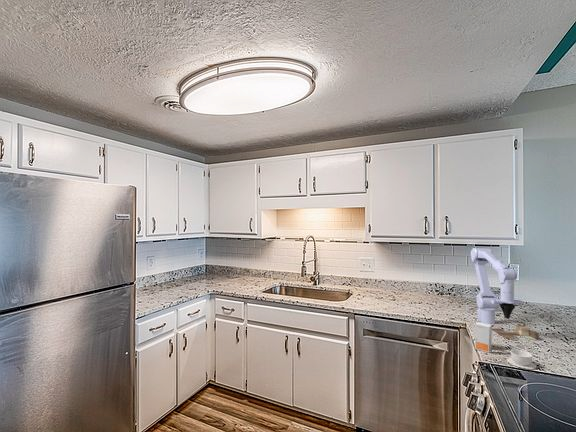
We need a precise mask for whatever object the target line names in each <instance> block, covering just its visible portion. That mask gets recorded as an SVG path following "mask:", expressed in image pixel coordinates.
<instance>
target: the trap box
mask: <svg viewBox="0 0 576 432" xmlns="http://www.w3.org/2000/svg"><path fill="white" fill-rule="evenodd" d="M517 325H521V324H520V323H517ZM510 330H511V331H512V332H511V331H506V330H504V329H502V328H492V332H494V333H496V334H497V335H499V336H501V337H503V338H504V339H506V340H519V338H517V337H522V336H521V335H519V334H517V333H516V328H513V329H512V328H511V329H510ZM523 337H524V338H526V339H527V340H531V341H538V340H539V333H537V332H536V331H534V330H531V329H530V328H529V336H523Z"/></svg>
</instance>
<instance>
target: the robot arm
mask: <svg viewBox="0 0 576 432" xmlns="http://www.w3.org/2000/svg"><path fill="white" fill-rule="evenodd" d="M470 258H471V262H472V263H473V264H474V269H475V273H476V278H477V282H478V287H479V291H480V292H478V294H476V305H477V309H476V320H475V321H476V322H479V321H480V323H486V324H490V325H495V324H496V311H497V309H499V307H500V308H501V310H502V313H503V317H504V318H505V319H508V320H509V319H510V318H511V315H512V312H513V311H514V309H515V308H516V305H520V306H523V305H524V301H523V300H521V299H520V300H519V299H515V280H517V278H518V272H517V271H516V269H515V268H511V267H509V266H507V264H505V262H503V261H504V260H503V261H502V260H500V259H499V260H498V259H497V258H496V256H495V255H494V252H493V250H492V249H491V248H490V247H487V248H485V247H484V248H482V247H472V249H471V250H470ZM488 263H490V264H491V267H492V269H493V270H494V271H495V273H497V276H498V279H499V283H500V295H499V296H500V298H498V297H497V294H495V293H494V292H492V290H491V287H490V283H489V278H488V274H487V269H486V264H488Z"/></svg>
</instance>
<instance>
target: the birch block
mask: <svg viewBox="0 0 576 432" xmlns="http://www.w3.org/2000/svg"><path fill="white" fill-rule="evenodd" d="M515 329H516V333H517V334H519V335H521V336H520V337H524V336H529V329H530V327H528V326H526V325H525V324H520V325H518V324H516V325H515Z"/></svg>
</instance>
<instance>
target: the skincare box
mask: <svg viewBox="0 0 576 432" xmlns="http://www.w3.org/2000/svg"><path fill="white" fill-rule="evenodd" d="M492 329H493V324H486V323H482V322H481V321H480V322H479V321H476V323H475V324H474V350H477V351H481V352H485V353H487V354H490V352H491V351H492V341H493V340H492V338H493V337H492V336H493V335H492V334H493V333H492V332H493V330H492Z"/></svg>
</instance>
